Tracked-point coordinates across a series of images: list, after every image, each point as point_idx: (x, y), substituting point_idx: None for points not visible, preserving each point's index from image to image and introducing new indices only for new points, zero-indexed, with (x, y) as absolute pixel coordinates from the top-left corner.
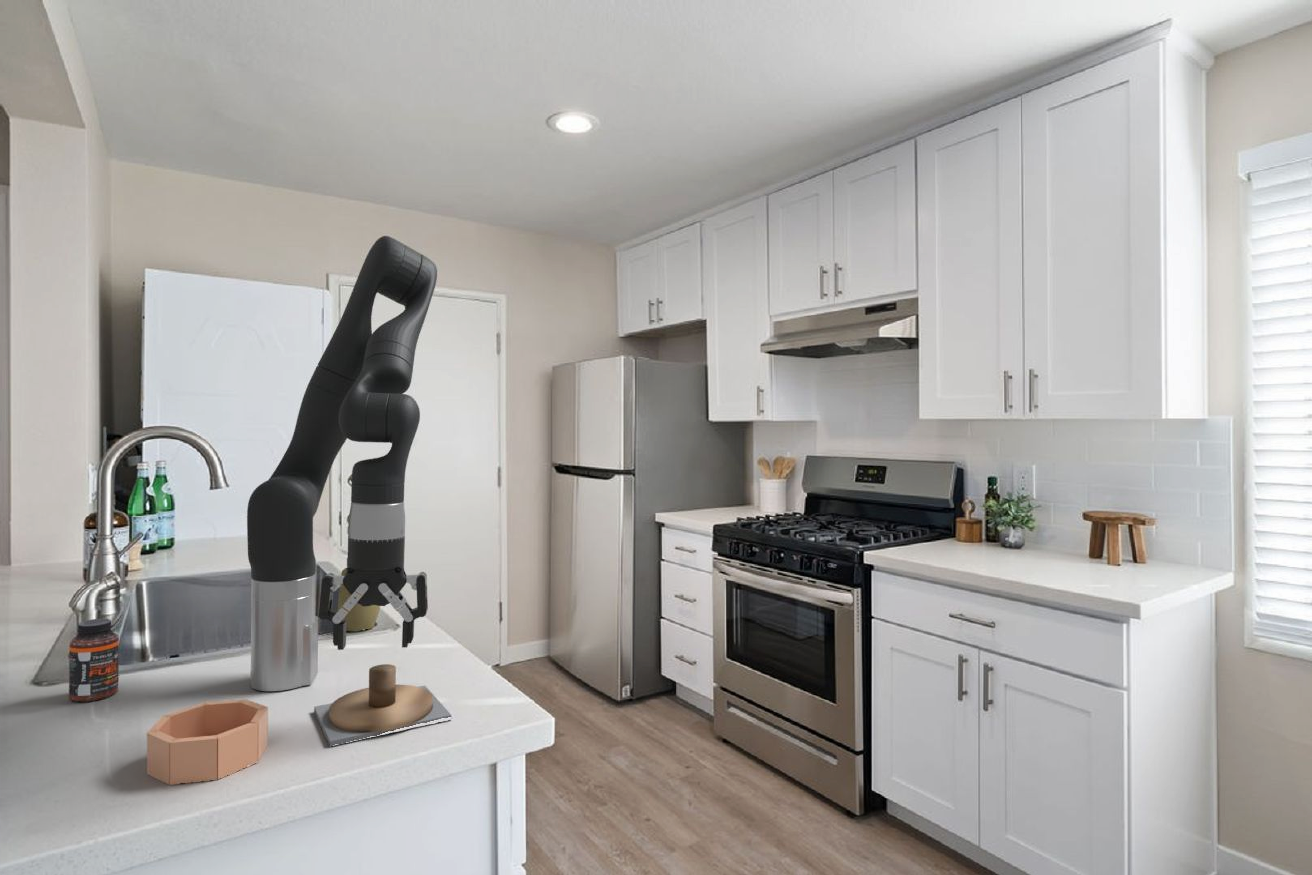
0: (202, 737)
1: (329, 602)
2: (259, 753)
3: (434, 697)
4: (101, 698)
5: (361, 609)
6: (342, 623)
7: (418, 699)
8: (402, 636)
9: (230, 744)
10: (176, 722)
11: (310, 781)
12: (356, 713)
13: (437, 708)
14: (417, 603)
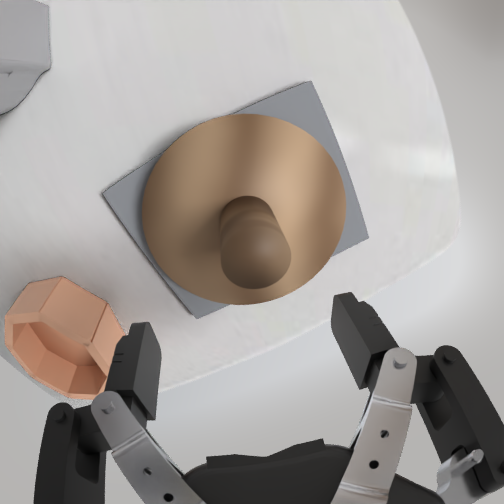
0: (89, 396)
1: (101, 483)
2: None
3: (339, 154)
4: None
5: None
6: (146, 415)
7: (319, 207)
8: (343, 354)
9: None
10: (16, 337)
11: (210, 371)
12: (210, 268)
13: (348, 209)
14: (427, 428)
